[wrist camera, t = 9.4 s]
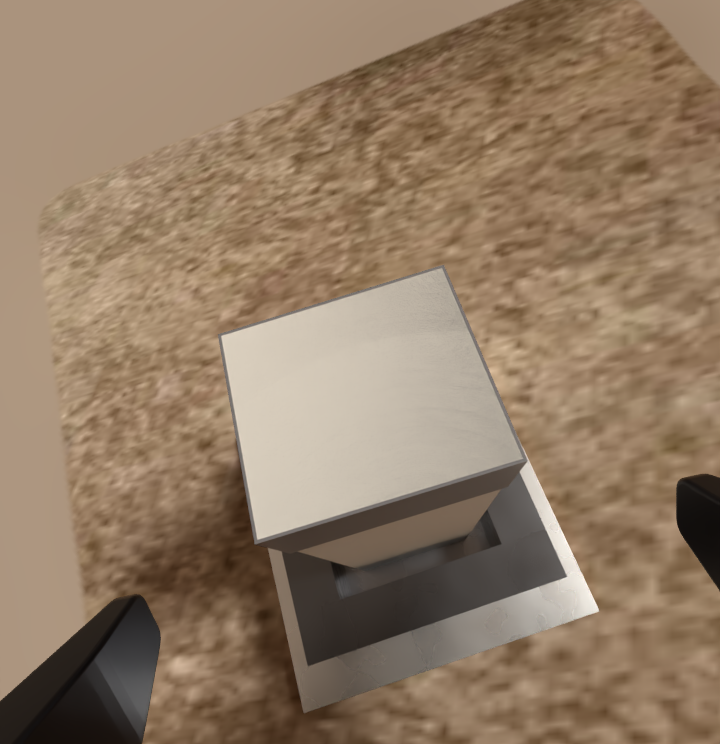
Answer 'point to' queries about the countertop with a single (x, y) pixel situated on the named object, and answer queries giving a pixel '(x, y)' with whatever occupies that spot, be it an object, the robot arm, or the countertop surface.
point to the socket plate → (429, 600)
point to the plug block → (368, 424)
